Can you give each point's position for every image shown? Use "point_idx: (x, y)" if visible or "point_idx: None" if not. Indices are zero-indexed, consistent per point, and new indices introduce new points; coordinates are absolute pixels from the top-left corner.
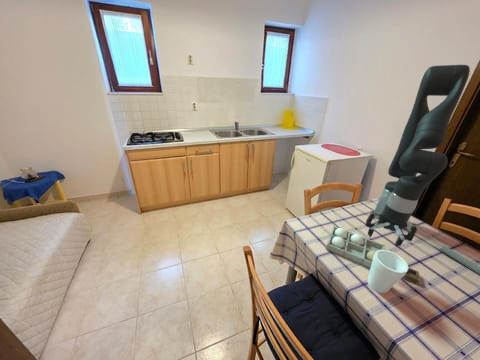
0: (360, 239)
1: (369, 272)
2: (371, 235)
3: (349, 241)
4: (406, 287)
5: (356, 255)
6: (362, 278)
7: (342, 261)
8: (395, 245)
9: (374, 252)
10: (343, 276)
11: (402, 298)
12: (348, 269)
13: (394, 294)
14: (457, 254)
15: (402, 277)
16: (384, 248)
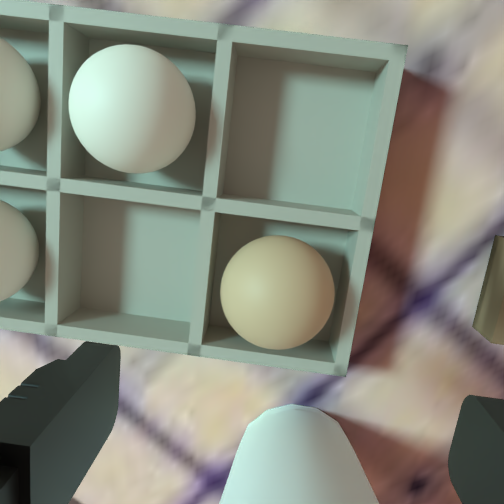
0: (143, 146)
1: (221, 498)
2: (92, 455)
3: None
4: None
5: (139, 338)
6: (210, 444)
7: None
8: (452, 466)
9: (263, 311)
10: (101, 477)
11: (424, 486)
12: (125, 412)
13: (384, 478)
14: None
15: (475, 328)
16: (395, 108)
